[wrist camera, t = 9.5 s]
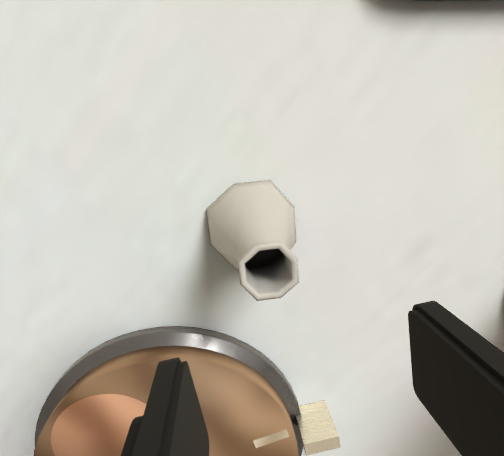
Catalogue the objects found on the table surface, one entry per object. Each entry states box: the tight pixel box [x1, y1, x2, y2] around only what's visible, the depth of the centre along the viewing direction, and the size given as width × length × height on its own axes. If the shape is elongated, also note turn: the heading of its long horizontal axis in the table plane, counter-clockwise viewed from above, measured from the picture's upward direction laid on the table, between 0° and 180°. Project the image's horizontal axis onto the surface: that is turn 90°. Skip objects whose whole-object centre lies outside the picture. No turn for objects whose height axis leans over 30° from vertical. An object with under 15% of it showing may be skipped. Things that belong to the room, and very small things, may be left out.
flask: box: [207, 180, 299, 301], centre depth 22 cm, size 7×7×10 cm
